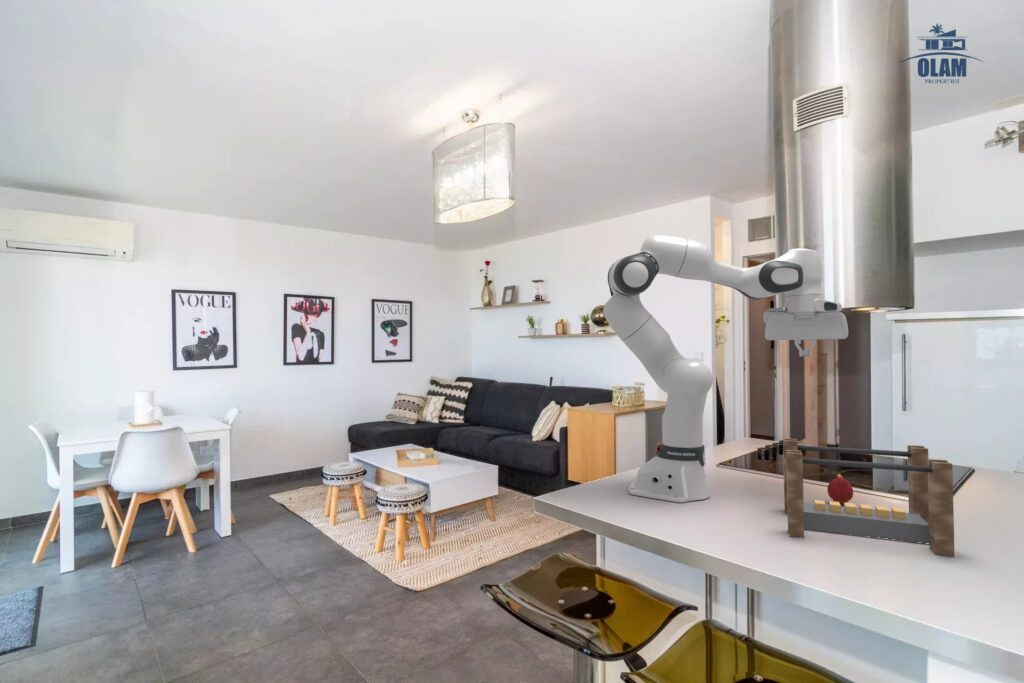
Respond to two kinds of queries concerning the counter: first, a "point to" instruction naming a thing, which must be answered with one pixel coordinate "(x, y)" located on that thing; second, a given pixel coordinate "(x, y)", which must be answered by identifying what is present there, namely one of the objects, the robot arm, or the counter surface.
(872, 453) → the cord far
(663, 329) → the robot arm
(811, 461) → the rod
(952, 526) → the cord posts
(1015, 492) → the counter surface
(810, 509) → the breaker strip
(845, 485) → the onion
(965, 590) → the counter surface
